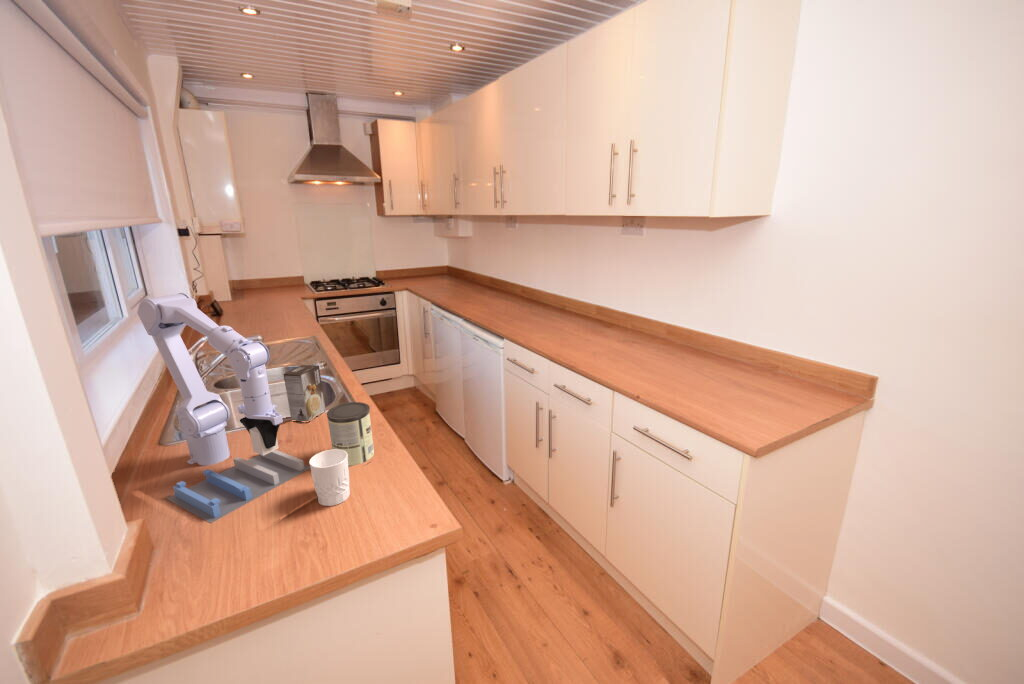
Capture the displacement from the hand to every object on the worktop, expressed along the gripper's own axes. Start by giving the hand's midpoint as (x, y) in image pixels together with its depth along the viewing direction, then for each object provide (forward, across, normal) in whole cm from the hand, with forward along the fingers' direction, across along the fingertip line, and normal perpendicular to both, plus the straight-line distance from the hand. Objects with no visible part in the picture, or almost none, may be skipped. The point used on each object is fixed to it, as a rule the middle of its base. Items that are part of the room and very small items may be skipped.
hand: (265, 444), depth 109 cm
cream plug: (+1, 0, 0) cm, 1 cm away
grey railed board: (+8, 0, +7) cm, 10 cm away
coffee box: (+8, +20, -26) cm, 34 cm away
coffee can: (+8, -14, -14) cm, 22 cm away
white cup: (+8, -23, 0) cm, 24 cm away
